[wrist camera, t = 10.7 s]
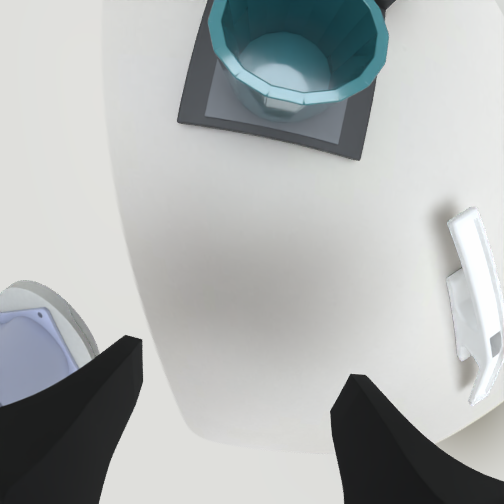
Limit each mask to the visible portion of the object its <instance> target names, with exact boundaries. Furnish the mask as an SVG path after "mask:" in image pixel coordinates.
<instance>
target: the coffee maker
mask: <svg viewBox="0 0 504 504" xmlns="http://www.w3.org/2000/svg"><path fill="white" fill-rule="evenodd" d="M374 1H375V3H376V4H377V5H378V6H379V8H380V10H381V13H382V16H383V18H384V21H385V12H386V9H387V8H388V7H389V6H390V5H391V4H392V3H393V2H395V1H396V0H374ZM213 2H214V0H208V1H207V4H206V7H205V10H204V14H203V17H202V20H201V24H200V27H199V31H198V34H197V38H196V41H195V45H194V49H193V53H192V56H191V60H190V64H189V68H188V72H187V77H186V81H185V85H184V90H183V94H182V99H181V103H180V108H179V113H178V118H177V122H178V123H181V124H189V125H196V126H203V127H209V128H216V129H222V130H228V131H234V132H239V133H245V134H250V135H255V136H260V137H265V138H270V139H274V140H279V141H283V142H288V143H292V144H296V145H300V146H305V147H309V148H313V149H316V150H320V151H324V152H328V153H331V154H335V155H339V156H342V157H346V158H349V159H353V160H358V161H359V160H360V158H361V154H362V150H363V145H364V141H365V136H366V131H367V127H368V122H369V117H370V112H371V106H372V101H373V96H374V90H375V84H376V78H377V76H376V77H375V79H374V80H373V81H372V83H371V84H370V86H368V87H367V88H366V89H364V90H362V91H360V92H358V93H356V94H354V95H352V96H350V97H348V98H347V99H345V100H343V101H341V102H339V103H337V104H335V105H333V106H331V107H329V108H328V109H326V110H324V111H322V112H320V113H318V114H316V115H314V116H313V117H311V118H309V119H307V120H304V121H299V122H294V123H277V122H271V121H268V120H265V119H262V118H260V117H258V116H256V115H254V114H253V113H251V112H250V111H249V110H247V109H246V108H245V107H244V106H243V105H242V104H241V102H240V101H239V100H238V98H237V97H236V95H235V94H234V93H233V91H232V89H231V87H230V85H229V82H228V80H227V78H226V76H225V74H224V72H223V69H222V67H221V65H220V63H219V61H218V59H217V57H216V55H215V52H214V50H213V46H212V41H211V36H210V32H209V27H208V18H209V15H210V12H211V8H212V5H213Z"/></svg>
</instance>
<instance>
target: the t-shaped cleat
mask: <svg viewBox="0 0 504 504" xmlns="http://www.w3.org/2000/svg"><path fill="white" fill-rule="evenodd" d="M447 225H448V228H449V230H450V233H451V236H452V238H453V241H454V244H455V247H456V250H457V253H458V255H459V259H460V262H461V265H462V268H461V269H460V270H458V271H457V272H455V273H454V274H452V275H450V276H449V277H448V278H447V279H446V281H447V287H448V292H449V297H450V303H451V309H452V315H453V322H454V330H455V338H456V347H457V356H458V358H459V359H460V360H461V361H464V360H466V359H467V358H468V357H470V356H471V355H472V356H473V358H474V359H475V361H476V362H477V364H478V366H479V371H478V374H477V377H476V380H475V383H474V386H473V389H472V392H471V394H470V397H469V400H468V402H469V404H470V405H471V406H473V405H475V404H476V403H478V402H479V401H481V400H482V399H483V398H485V397H486V396H488V394H489V392H490V390H491V388H492V386H493V384H494V382H495V380H496V378H497V375H498V373H499V371H500V369H501V366H502V364H503V362H504V301H503V296H502V291H501V286H500V282H499V277H498V273H497V269H496V265H495V261H494V258H493V254H492V250H491V247H490V244H489V240H488V237H487V234H486V231H485V228H484V225H483V222H482V219H481V216H480V213H479V211H478V208H477V207H469V208H468V209H466V210H465V211H463V212H461V213H460V214H458V215H457V216H455V217H453V218H452V219H450V220H449V221H448V222H447Z"/></svg>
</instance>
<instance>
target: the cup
mask: <svg viewBox="0 0 504 504" xmlns="http://www.w3.org/2000/svg"><path fill="white" fill-rule="evenodd" d="M208 27H209V32H210V36H211V41H212V46H213V50H214V52H215V55H216V57H217V59H218V61H219V63H220V65H221V67H222V69H223V72H224V74H225V76H226V78H227V80H228V82H229V85H230V87H231V89H232V91H233V93H234V94H235V95H236V97H237V98H238V100H239V101H240V102H241V104H242V105H243V106H244V107H245V108H246V109H247V110H249V111H250V112H251V113H253V114H254V115H256V116H258V117H260V118H262V119H265V120H268V121H271V122H277V123H294V122H299V121H304V120H307V119H309V118H311V117H313V116H314V115H316V114H318V113H320V112H322V111H324V110H326V109H328V108H329V107H331V106H333V105H335V104H337V103H339V102H341V101H343V100H345V99H347V98H348V97H350V96H352V95H354V94H356V93H358V92H360V91H362V90H364V89H366V88H367V87H368V86H370V84H371V83H372V81H373V80H374V79H375V77H376V76H377V74H378V73H379V72H380V70H381V69H382V68H383V66H384V65H385V62H386V55H387V48H388V40H389V34H388V31H387V28H386V25H385V21H384V18H383V16H382V13H381V10H380V8H379V6H378V5H377V4H376V3H375V1H374V0H214V2H213V5H212V8H211V12H210V15H209V18H208Z"/></svg>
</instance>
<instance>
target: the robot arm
mask: <svg viewBox="0 0 504 504" xmlns="http://www.w3.org/2000/svg"><path fill="white" fill-rule="evenodd" d="M142 383H143V362H142V339H139V338H135V337H131V336H127V335H125V336H123V337H122V338H121V339H119V340H118V341H117V342H115V343H114V344H113V345H111V346H110V347H109V348H107V349H106V350H105V351H103V352H102V353H101V354H99V355H98V356H97V357H95V358H94V359H92V360H91V361H90V362H88V363H87V364H85V365H84V366H83V367H81V368H80V369H79V367H78V365H77V364H76V362H75V360H74V358H73V356H72V355H71V353H70V351H69V349H68V347H67V345H66V343H65V342H64V340H63V338H62V336H61V334H60V332H59V330H58V328H57V326H56V324H55V322H54V319H53V317H52V315H51V313H50V311H49V310H48V309H47V308H46V307H40V308H31V309H23V310H14V311H6V312H0V504H99V500H100V496H101V492H102V488H103V484H104V481H105V477H106V474H107V470H108V467H109V463H110V461H111V458H112V455H113V453H114V451H115V448H116V446H117V444H118V442H119V440H120V438H121V435H122V433H123V431H124V429H125V427H126V424H127V422H128V420H129V418H130V416H131V414H132V412H133V409H134V407H135V405H136V402H137V399H138V396H139V392H140V390H141V386H142ZM330 414H331V429H332V437H333V442H334V447H335V452H336V456H337V461H338V466H339V470H340V475H341V480H342V485H343V492H344V504H504V481H500V480H498V479H495V478H492V477H489V476H487V475H484V474H482V473H480V472H478V471H476V470H474V469H472V468H470V467H468V466H466V465H464V464H462V463H461V462H459V461H458V460H456V459H454V458H453V457H451V456H450V455H448V454H447V453H445V452H444V451H443V450H441V449H440V448H438V447H437V446H436V445H435V444H434V443H432V442H431V441H430V440H429V439H427V438H426V437H425V436H424V435H423V434H422V433H421V432H420V431H418V430H417V429H416V428H415V427H414V426H413V425H412V424H411V423H410V422H409V421H408V420H407V419H406V418H405V417H404V416H403V415H402V414H401V413H400V412H399V411H398V409H397V408H396V407H395V406H394V405H393V404H392V403H391V402H390V401H389V400H388V399H387V397H386V396H385V395H384V394H383V393H382V392H381V391H380V390H379V389H378V388H377V386H376V385H375V384H374V383H373V382H372V381H371V380H370V379H369V378H368V377H367V376H366V375H358V374H350V376H349V378H348V380H347V382H346V384H345V385H344V387H343V389H342V391H341V393H340V395H339V396H338V398H337V400H336V402H335V404H334V405H333V407H332V409H331V411H330Z"/></svg>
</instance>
